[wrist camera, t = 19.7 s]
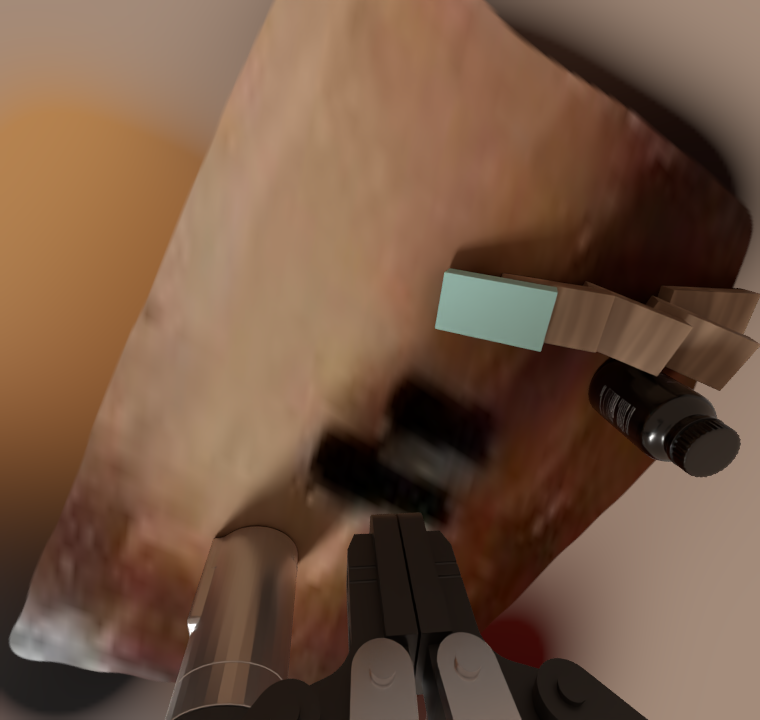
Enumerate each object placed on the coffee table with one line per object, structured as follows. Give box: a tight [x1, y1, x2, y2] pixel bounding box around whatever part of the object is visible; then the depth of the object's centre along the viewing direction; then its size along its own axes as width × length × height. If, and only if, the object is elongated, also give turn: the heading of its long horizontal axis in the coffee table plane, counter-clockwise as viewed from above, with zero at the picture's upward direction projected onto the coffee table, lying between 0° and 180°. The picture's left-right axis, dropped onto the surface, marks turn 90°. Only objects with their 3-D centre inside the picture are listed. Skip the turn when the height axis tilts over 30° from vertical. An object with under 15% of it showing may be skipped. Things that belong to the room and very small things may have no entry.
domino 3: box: [583, 281, 693, 376], centre depth 38 cm, size 2×5×9 cm
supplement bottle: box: [588, 359, 741, 477], centre depth 39 cm, size 7×7×12 cm
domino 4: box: [657, 286, 760, 334], centre depth 41 cm, size 2×5×9 cm
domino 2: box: [502, 273, 615, 353], centre depth 37 cm, size 2×5×9 cm
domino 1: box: [435, 268, 558, 352], centre depth 36 cm, size 2×5×9 cm
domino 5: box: [645, 295, 760, 391], centre depth 39 cm, size 2×5×9 cm
